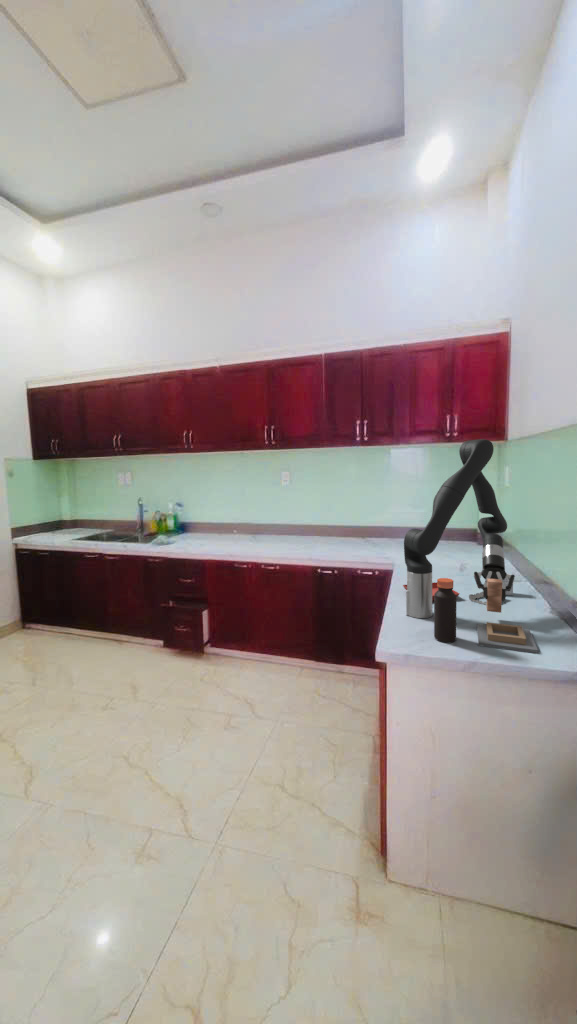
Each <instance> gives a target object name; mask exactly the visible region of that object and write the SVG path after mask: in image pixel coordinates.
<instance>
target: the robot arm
mask: <svg viewBox="0 0 577 1024" xmlns="http://www.w3.org/2000/svg"><path fill="white" fill-rule="evenodd" d="M494 449H495V448H494V444H493V442H492V441H491V440H488V439H484V438H483V439H480V438H478V439H472V440H471V439H469V440H465V441H464V442H462V443H461V445H460V446H459V450H458V452H459V458H460V460H461V463H462V467H461V468H460V469H458V471H456V472H455V473H454V474H452V475H451V476H450V477H448V478H447V480H445V481H443V483H442V485H441V486H440V488H439V490H438V491H437V492H436V494H435V496H434V498H433V503H432V511H431V512H432V514H431V517H430V519H429V521H428V522H427V524H426V525H425V527H424V529H420V528H411V529H409V530H408V531H407V532H406V534H405V535H404V539H403V552H404V554H403V555H404V563H405V565H406V578H407V579H406V585H407V590H406V593H405V595H406V599H405V602H406V603H405V604H406V605H405V606H406V607H405V608H406V613H405V614H406V616H410V617H412V618H416V619H428V618H431V617H432V616H433V601H432V583H433V564H432V563H431V562H430V561H429V560H428V558H427V556H428V555H431V554H432V553H433V552H434V551H435V549H436V548H437V546H438V545H439V543H440V540H441V539H442V536H443V534H444V532H445V530H446V528H447V526H448V524H449V522H450V520H451V518H452V517H453V516H454V514H455V513H456V510H458V507H460V504H461V503H462V501H463V500H464V498H465V496H466V494H467V493H468V491H469V490H470V488H471V486H472V489H473V493H474V495H475V500H476V504H477V508H478V511H479V512H480V513H481V514H487V515H492V516H486V517H481V518H480V519H479V520H478V521H477V528H478V531H479V533H480V536H481V539H482V555H481V557H482V558H481V559H482V570H481V571H479V572H477V571H474V572H473V578H474V581H475V583H476V586H477V589H478V590H480V589H481V590H482V592H483V597H482V598H484V599H485V600H487V599H488V588H487V579H500V580H502V602H504V601H505V600H506V597H507V595H506V591H510V590H511V587H512V584H513V585H514V581H515V574H511V575H508V574H509V573H507V572H506V565H505V563H506V562H505V553H504V542H503V538H502V536H501V535H499V534H502V533H505V532H506V531H507V529H508V523H507V520H506V518H505V517H504V515H503V513H502V511H501V510H500V507H499V506H498V500H497V497H496V493H495V490H494V488H493V485H491V484H490V482H489V481H488V479H487V478H486V476H485V475H484V473H483V472H482V471H483V469H484V468H485V467H486V465H488V463H489V461H491V459H492V457H493V454H494ZM481 577H483V579H484V580H485V581H484V583H482V581H481ZM505 578H507V580H508V581H509V583H508V586H505V585H504V582H503V580H504V579H505Z"/></svg>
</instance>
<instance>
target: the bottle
mask: <svg viewBox="0 0 577 1024" xmlns="http://www.w3.org/2000/svg"><path fill="white" fill-rule="evenodd" d="M436 582H437V586H438V591H437V592H436V593H435V594H434V601H433V603H434V604H433V605H434V606H433V607H434V609H433V617H434V619H433V625H434V626H433V631H434V632H433V636H434V637H433V638H434V639H435V640H436V641H438V642H441V643H445V642H450V643H454V642H455V641H456V640H457V597H456V594H455V593H454V592H453V591H452V590H454V580H453V579H452V578H448V577H447V578H446V577H441V578H437V581H436Z"/></svg>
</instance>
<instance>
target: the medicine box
mask: <svg viewBox="0 0 577 1024" xmlns="http://www.w3.org/2000/svg"><path fill="white" fill-rule="evenodd" d="M507 574H508V575H512V574H511V573H507ZM503 582H504V585H505V586H508V583H509V581H508V580H507V578H505V579H504V580H503ZM513 595H514V583H513V584H512V587H511V590H510V591H506V596H513Z"/></svg>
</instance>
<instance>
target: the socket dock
mask: <svg viewBox="0 0 577 1024" xmlns="http://www.w3.org/2000/svg"><path fill="white" fill-rule="evenodd" d="M476 628H477V629H476V631H477V640H478V647H479V646H480V647H488V648H495V649H503V650H510V651H517V652H524V653H532V654H538V652H539V649H538V647H537V644H536V642H535V639H534V637H533V635H532V632H531V630H530V629H525V628H524V629H523V626H522V625H515V624H507V623H506V624H505V623H497V622H488V621H487V622H486V624H482V623H477V624H476Z"/></svg>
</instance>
